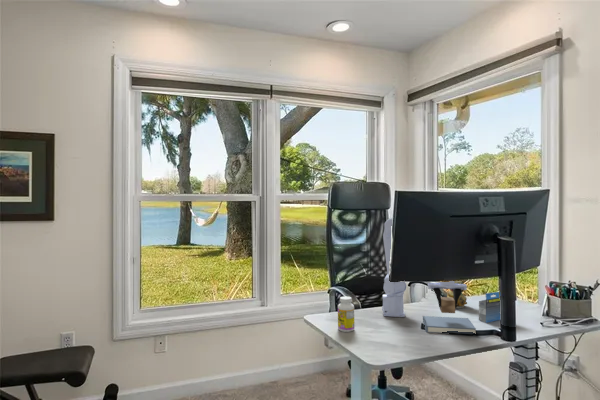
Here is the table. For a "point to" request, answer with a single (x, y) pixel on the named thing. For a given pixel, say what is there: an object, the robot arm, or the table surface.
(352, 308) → the supplement bottle
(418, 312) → the table surface
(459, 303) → the decorative figurine
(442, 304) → the walnut block
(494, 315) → the label tape box
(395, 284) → the robot arm
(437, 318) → the book
